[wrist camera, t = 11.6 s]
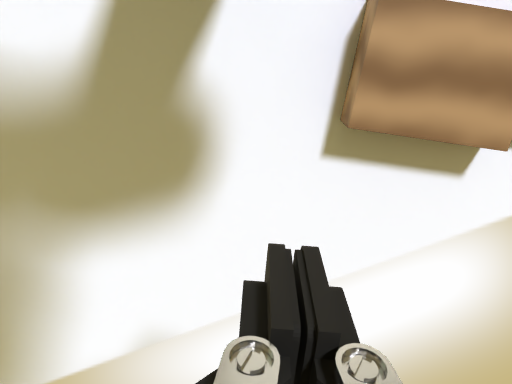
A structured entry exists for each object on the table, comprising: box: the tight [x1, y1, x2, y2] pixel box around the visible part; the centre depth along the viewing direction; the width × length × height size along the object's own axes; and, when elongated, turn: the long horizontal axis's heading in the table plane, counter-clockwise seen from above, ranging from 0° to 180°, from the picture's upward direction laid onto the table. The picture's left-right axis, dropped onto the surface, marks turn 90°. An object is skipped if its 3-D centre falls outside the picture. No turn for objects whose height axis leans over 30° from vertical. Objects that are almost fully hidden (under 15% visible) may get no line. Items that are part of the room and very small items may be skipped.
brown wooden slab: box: [340, 0, 512, 151], centre depth 36 cm, size 12×16×4 cm
